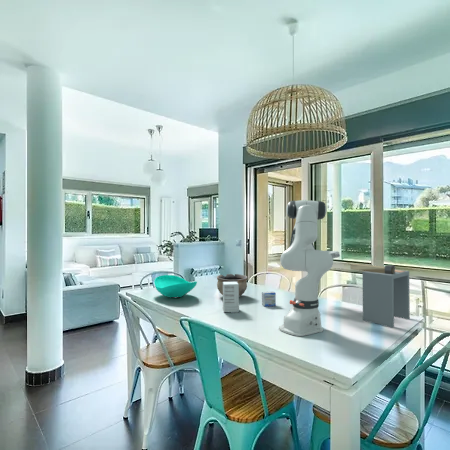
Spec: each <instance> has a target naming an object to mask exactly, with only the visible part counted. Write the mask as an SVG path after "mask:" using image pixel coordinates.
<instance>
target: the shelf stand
mask: <svg viewBox="0 0 450 450" xmlns="http://www.w3.org/2000/svg"><path fill="white" fill-rule="evenodd" d="M361 272H362V320H363V321H365V322H368V323H369V322H370V323H373V324H377V325H381V326H384V327H390V328H394V327H395V317H396V318H399V319H405V320H409V319H410V318H411V315H410V308H411V307H410V303H411V302H410V270H402V269H401V270H400V269H395V273H394V274H385V273H377V272H368V271H361Z"/></svg>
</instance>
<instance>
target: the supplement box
mask: <svg viewBox="0 0 450 450" xmlns="http://www.w3.org/2000/svg"><path fill="white" fill-rule="evenodd" d="M239 304H240V296H239V284H238V283H237V282H223V295H222V309H223V313H224V312H231V313H240V305H239Z"/></svg>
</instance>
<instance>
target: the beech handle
mask: <svg viewBox="0 0 450 450" xmlns="http://www.w3.org/2000/svg"><path fill="white" fill-rule="evenodd" d="M350 270H351V271H352V270H353V271H361V272H365V271H368V272H377V273H385V274H394V273H395V270H396V265H392V264H388V265H384V266H381V265H380V266H379V265H373V264H362V263H350Z"/></svg>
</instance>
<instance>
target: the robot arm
mask: <svg viewBox="0 0 450 450" xmlns="http://www.w3.org/2000/svg"><path fill="white" fill-rule="evenodd" d="M285 211H286V215H287V217H288V218H289V219H293V220H295V223H294V227H293V229H292V232H291V236H290V241H289V246H288V248H287V249H286V250H284V251H283V252H282V253H281V254H280V259H279V261H280V265H281V267H282V268H283V269H284V270H288V271H292V272H307V275H306V276H303V277H301V278H299V279H298V280H297V281H296V282H295V284H294V298H293V300H291V299H290V300H289V305H292V307H291V308H290V310H289V311H287V313H286V314H285V315H284V318H283V324H282V325H280V326H278V330H279V331H281V332H283V333H286V334H288V335H292V336H296V337H303V336H309V335H313V334H317V333H322V332H324V328H323V327H322V320H321V319H322V318H321V313H320V311H319V306H320V305H319V304H320V302H319V297H318V296H319V295H318V293H319V292H318V291H319V284H320V281H321V279H322V278H323V276H324V275H325V274H326V273H327V272H329V271H330V270H331V269H332V267H333V265H334V259H337V258H340V257H341V254H340V252H339V251H338V250H321V249H315V245H314V243H315V242H316V241H317V239H318V220H323V219H324V218H325V217H326V214H327V211H328V209H327V206H326V203H325V202H324V201H322V200H307V199H305V200H304V199H301V200H291V201H290V200H289V202H287V205H286V209H285Z"/></svg>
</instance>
